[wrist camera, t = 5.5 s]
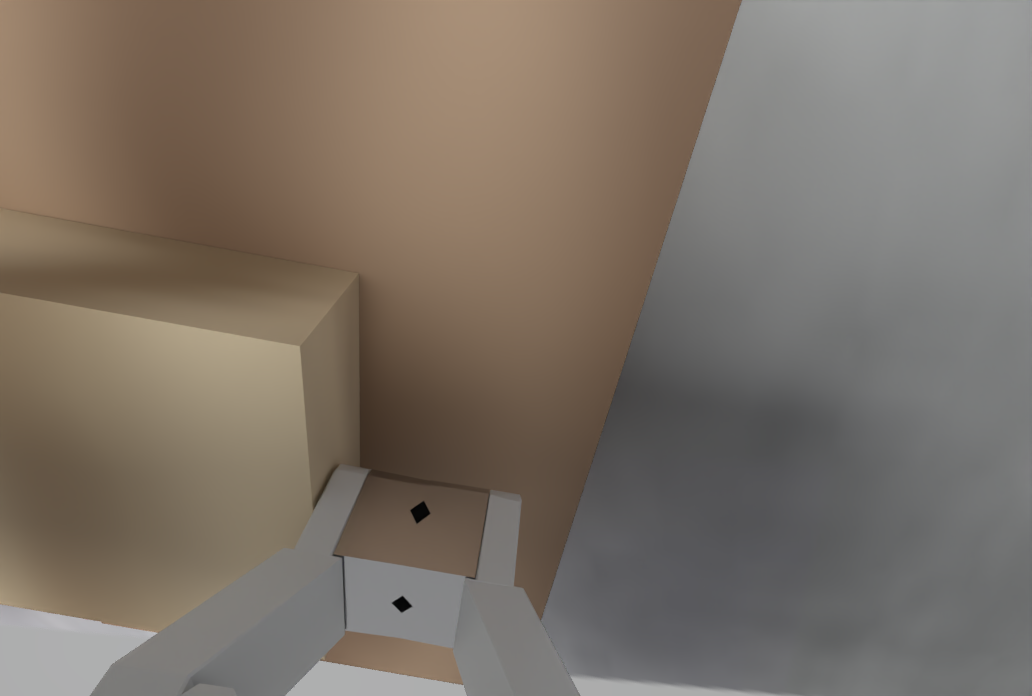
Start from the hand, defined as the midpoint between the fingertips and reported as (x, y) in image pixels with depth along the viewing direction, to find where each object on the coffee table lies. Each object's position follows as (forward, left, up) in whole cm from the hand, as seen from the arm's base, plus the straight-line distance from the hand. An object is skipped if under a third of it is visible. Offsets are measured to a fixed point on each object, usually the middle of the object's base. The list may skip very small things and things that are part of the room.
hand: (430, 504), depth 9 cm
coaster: (+5, 0, -1) cm, 5 cm away
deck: (+3, 0, -5) cm, 6 cm away
